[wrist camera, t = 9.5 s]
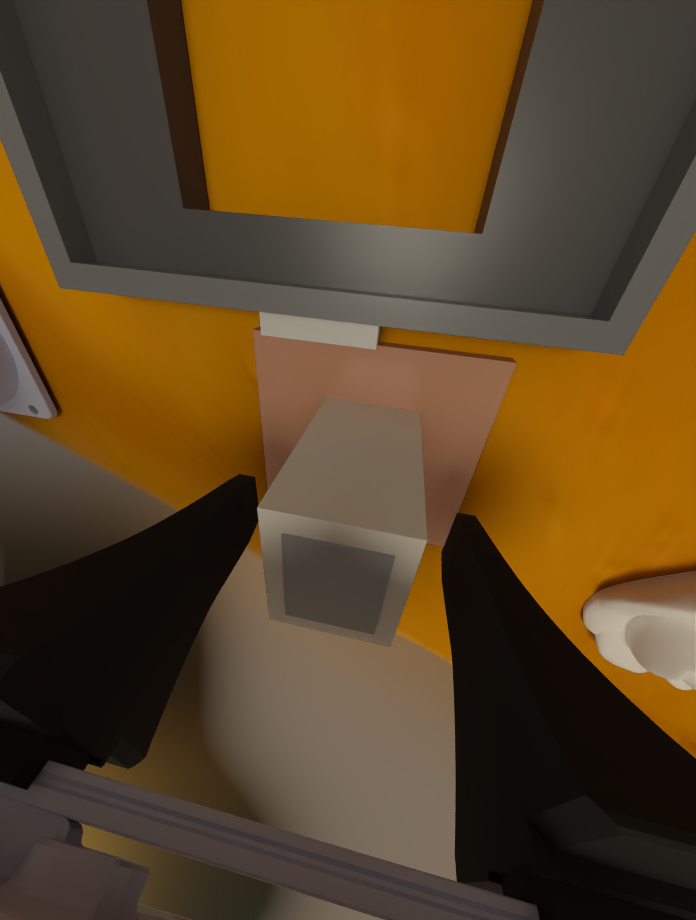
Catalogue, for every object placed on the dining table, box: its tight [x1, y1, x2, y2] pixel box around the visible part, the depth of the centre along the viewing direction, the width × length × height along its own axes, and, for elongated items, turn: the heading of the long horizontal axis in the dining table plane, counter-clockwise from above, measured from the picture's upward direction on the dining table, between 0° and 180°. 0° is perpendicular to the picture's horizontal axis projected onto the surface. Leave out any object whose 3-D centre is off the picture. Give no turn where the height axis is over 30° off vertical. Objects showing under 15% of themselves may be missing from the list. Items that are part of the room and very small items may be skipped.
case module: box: [257, 398, 427, 647], centre depth 11 cm, size 4×5×7 cm
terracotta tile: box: [253, 327, 517, 547], centre depth 14 cm, size 10×10×1 cm
